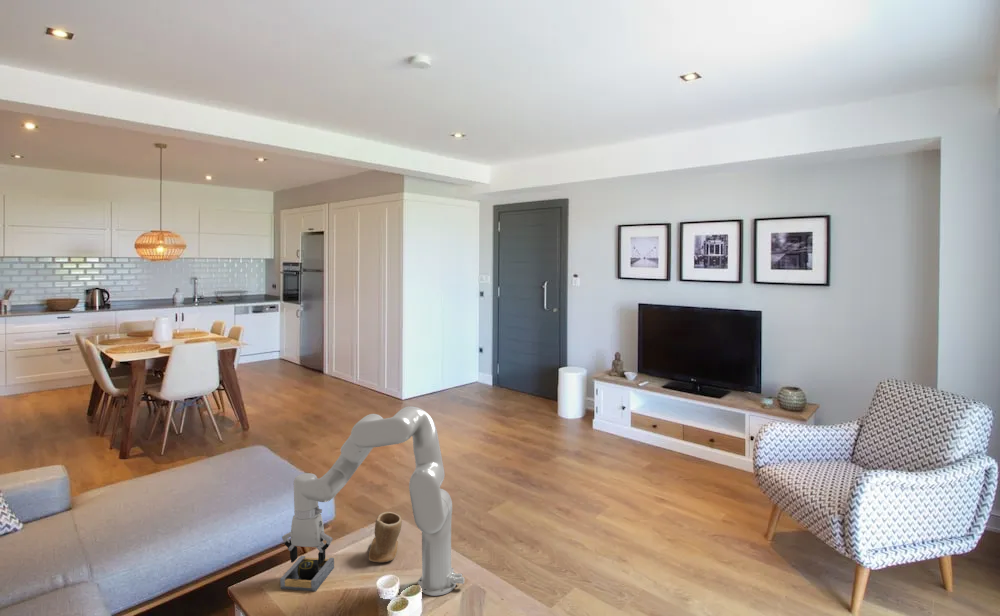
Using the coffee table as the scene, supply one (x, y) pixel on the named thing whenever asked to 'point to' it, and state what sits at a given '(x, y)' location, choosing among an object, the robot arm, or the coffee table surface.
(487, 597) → the coffee table surface
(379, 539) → the brown boot
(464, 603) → the coffee table surface
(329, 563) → the shallow grey tray
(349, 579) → the coffee table surface
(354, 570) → the coffee table surface
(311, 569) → the tape measure
